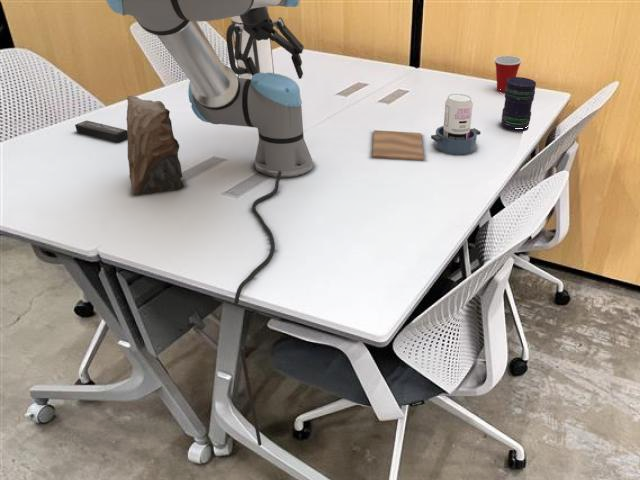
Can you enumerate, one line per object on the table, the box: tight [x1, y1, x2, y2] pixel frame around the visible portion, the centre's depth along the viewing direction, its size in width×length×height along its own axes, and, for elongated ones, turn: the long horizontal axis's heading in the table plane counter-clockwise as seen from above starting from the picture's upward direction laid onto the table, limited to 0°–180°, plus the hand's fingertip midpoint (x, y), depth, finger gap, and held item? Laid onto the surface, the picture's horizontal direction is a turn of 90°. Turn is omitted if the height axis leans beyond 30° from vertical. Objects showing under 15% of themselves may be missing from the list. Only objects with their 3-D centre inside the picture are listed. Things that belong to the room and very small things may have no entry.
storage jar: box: [500, 76, 537, 133], centre depth 197 cm, size 10×10×15 cm
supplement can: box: [443, 93, 474, 139], centre depth 178 cm, size 8×8×15 cm
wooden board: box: [371, 129, 424, 161], centre depth 179 cm, size 20×15×1 cm
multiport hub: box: [74, 120, 128, 144], centre depth 166 cm, size 4×14×2 cm, turn 71°
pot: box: [430, 125, 482, 156], centre depth 182 cm, size 13×17×4 cm
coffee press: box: [225, 6, 275, 79], centre depth 203 cm, size 17×16×30 cm
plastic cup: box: [493, 55, 523, 94], centre depth 228 cm, size 11×11×12 cm
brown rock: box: [125, 95, 185, 196], centre depth 141 cm, size 13×13×20 cm
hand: (279, 78), depth 173 cm, fingers open, 13 cm apart
